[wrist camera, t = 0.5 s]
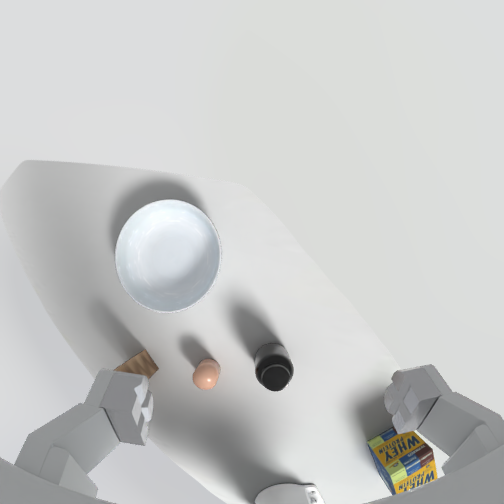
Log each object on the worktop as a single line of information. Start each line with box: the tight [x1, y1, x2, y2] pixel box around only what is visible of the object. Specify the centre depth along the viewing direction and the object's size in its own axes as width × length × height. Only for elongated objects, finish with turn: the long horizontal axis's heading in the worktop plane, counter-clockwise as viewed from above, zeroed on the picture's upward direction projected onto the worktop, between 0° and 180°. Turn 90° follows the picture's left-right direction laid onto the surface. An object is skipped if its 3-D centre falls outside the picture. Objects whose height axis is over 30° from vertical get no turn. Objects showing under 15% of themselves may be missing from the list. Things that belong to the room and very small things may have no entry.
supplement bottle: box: [255, 343, 294, 391], centre depth 51 cm, size 7×7×12 cm
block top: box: [114, 359, 142, 375], centre depth 47 cm, size 5×5×4 cm
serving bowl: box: [115, 199, 222, 313], centre depth 55 cm, size 21×21×7 cm
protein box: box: [367, 427, 438, 495], centre depth 47 cm, size 10×15×16 cm
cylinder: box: [193, 359, 220, 390], centre depth 54 cm, size 5×5×6 cm
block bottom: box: [126, 349, 159, 374], centre depth 55 cm, size 5×5×4 cm
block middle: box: [117, 354, 153, 379], centre depth 51 cm, size 5×5×4 cm
